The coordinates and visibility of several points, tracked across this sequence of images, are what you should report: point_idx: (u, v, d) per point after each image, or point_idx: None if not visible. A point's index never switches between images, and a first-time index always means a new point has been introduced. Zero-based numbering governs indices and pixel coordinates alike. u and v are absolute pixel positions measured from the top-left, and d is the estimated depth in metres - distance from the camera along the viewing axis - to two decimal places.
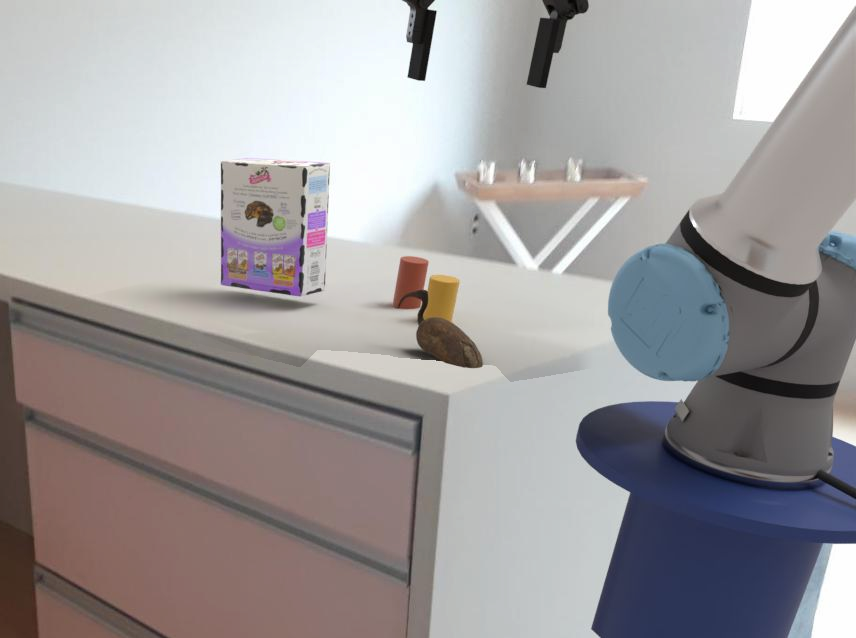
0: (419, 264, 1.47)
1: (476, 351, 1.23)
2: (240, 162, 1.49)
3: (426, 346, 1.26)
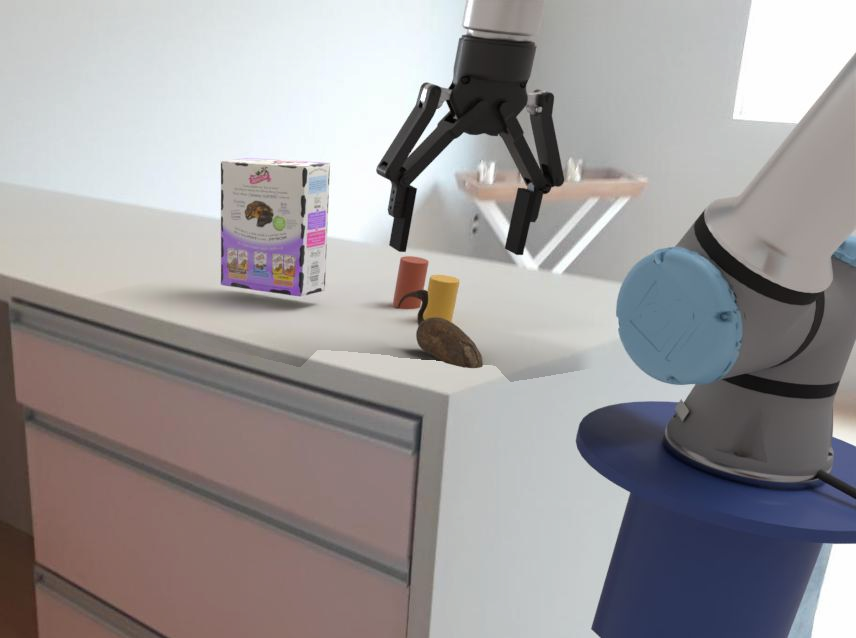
0: (419, 264, 1.47)
1: (476, 351, 1.23)
2: (240, 162, 1.49)
3: (426, 346, 1.26)
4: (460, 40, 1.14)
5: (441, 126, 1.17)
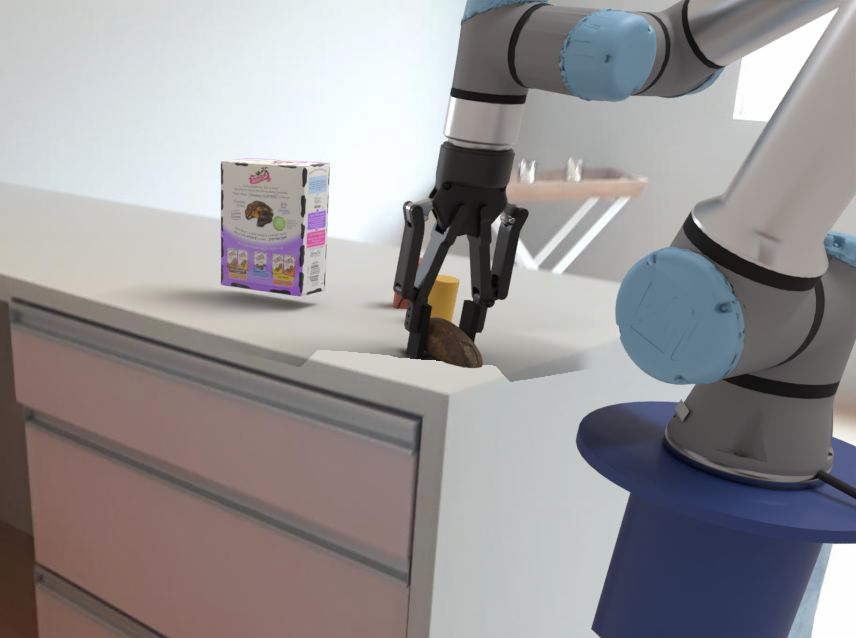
0: (419, 264, 1.47)
1: (476, 351, 1.23)
2: (240, 162, 1.49)
3: (425, 346, 1.26)
4: (441, 148, 1.18)
5: (434, 237, 1.22)
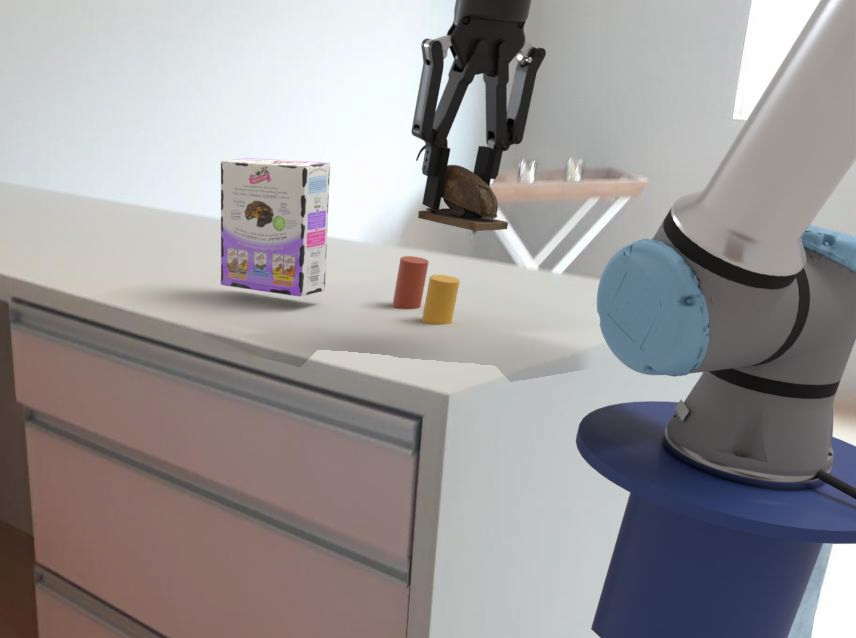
0: (419, 264, 1.47)
1: (492, 194, 1.23)
2: (240, 162, 1.49)
3: (442, 191, 1.27)
4: None
5: (452, 77, 1.22)
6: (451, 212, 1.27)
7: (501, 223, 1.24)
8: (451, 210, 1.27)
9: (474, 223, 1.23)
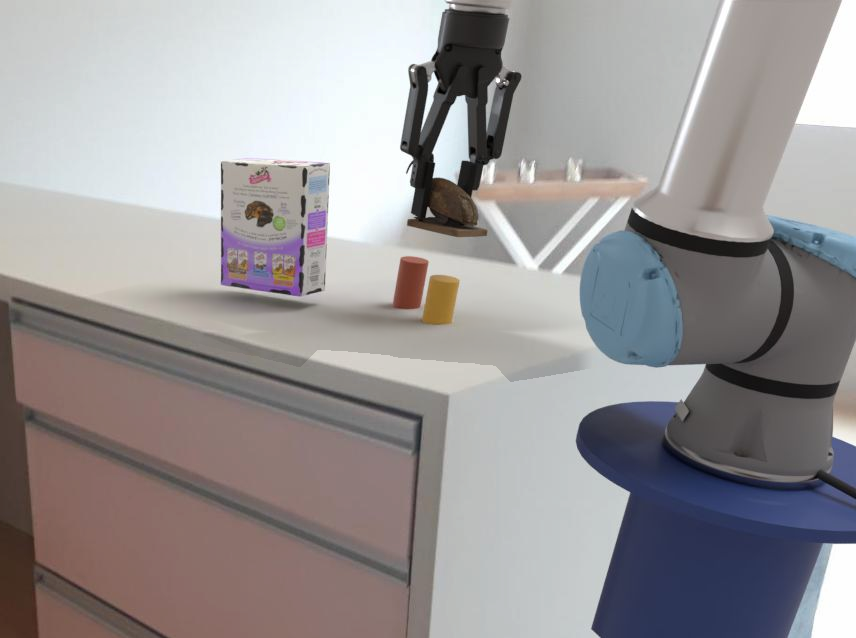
0: (419, 264, 1.47)
1: (473, 204, 1.36)
2: (240, 162, 1.49)
3: None
4: (443, 13, 1.31)
5: (436, 98, 1.35)
6: (436, 220, 1.39)
7: (481, 230, 1.37)
8: (436, 218, 1.39)
9: (456, 230, 1.36)
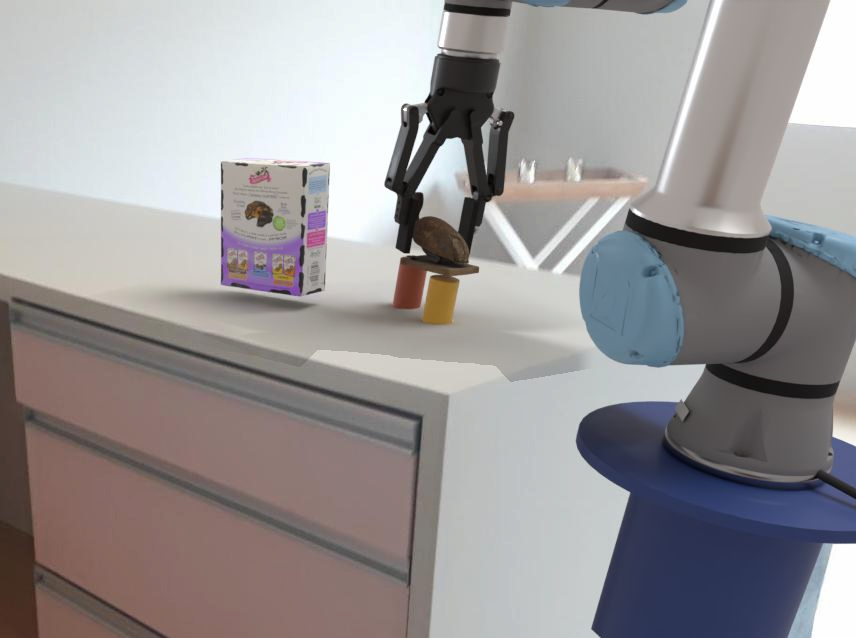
0: None
1: (463, 243, 1.38)
2: (240, 162, 1.49)
3: (419, 240, 1.42)
4: (435, 58, 1.33)
5: (426, 138, 1.37)
6: (428, 259, 1.41)
7: (473, 268, 1.39)
8: (428, 257, 1.41)
9: (448, 270, 1.38)
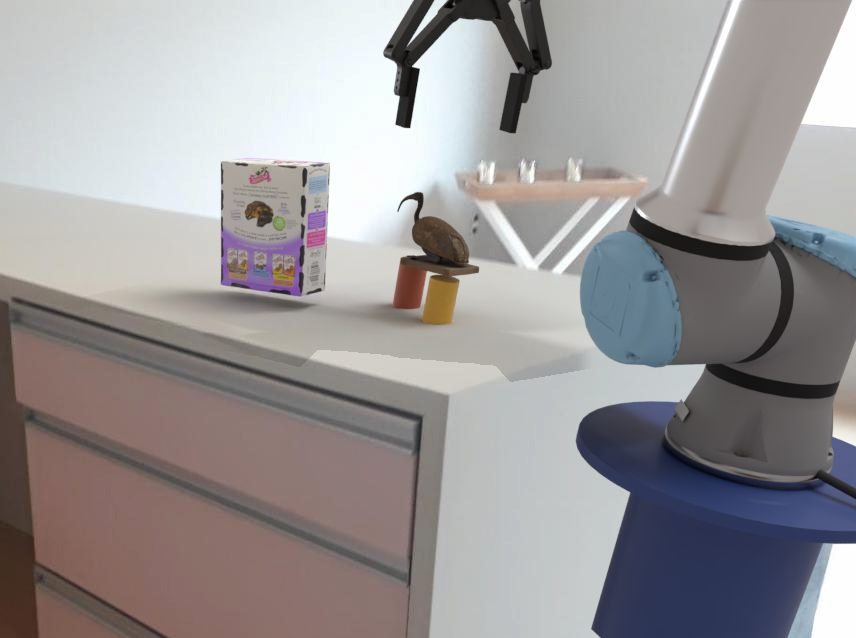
0: None
1: (463, 243, 1.38)
2: (240, 162, 1.49)
3: (419, 240, 1.42)
4: None
5: (441, 12, 1.31)
6: (428, 259, 1.41)
7: (473, 268, 1.39)
8: (428, 257, 1.41)
9: (448, 270, 1.38)
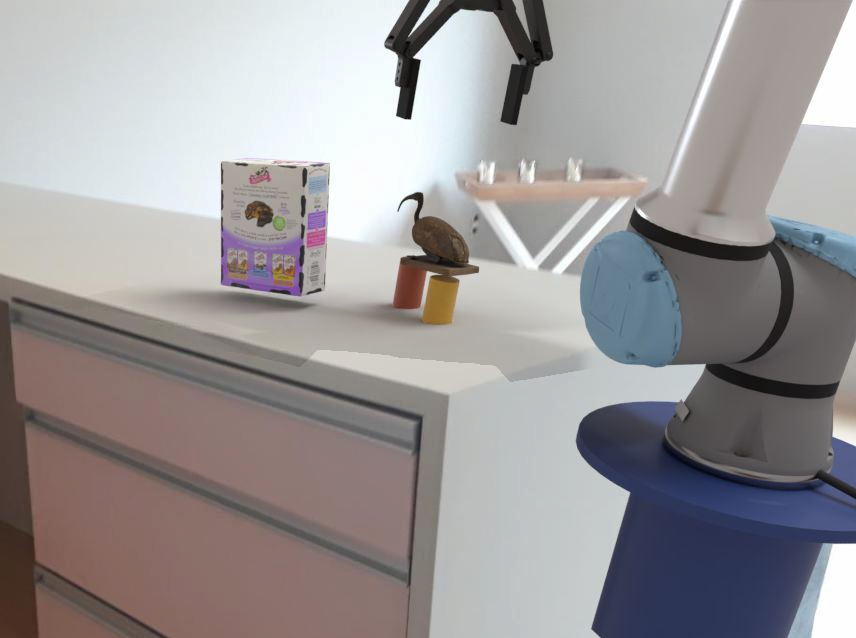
0: None
1: (463, 243, 1.38)
2: (240, 162, 1.49)
3: (419, 240, 1.42)
4: None
5: (442, 3, 1.30)
6: (428, 259, 1.41)
7: (473, 268, 1.39)
8: (428, 257, 1.41)
9: (448, 270, 1.38)
